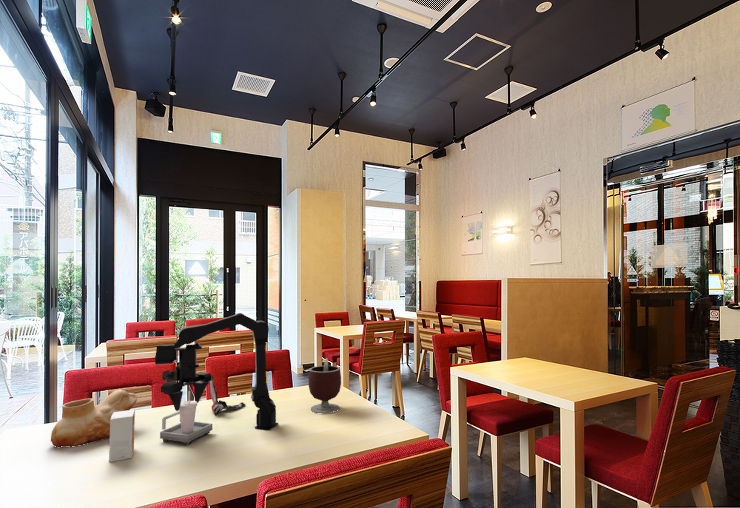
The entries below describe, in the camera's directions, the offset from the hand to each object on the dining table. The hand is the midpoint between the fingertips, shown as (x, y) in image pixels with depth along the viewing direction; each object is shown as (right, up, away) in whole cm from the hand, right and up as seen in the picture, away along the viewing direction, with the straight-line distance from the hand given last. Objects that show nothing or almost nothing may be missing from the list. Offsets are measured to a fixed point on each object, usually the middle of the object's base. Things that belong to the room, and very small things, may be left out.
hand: (187, 406), depth 145 cm
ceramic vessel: (-34, -12, +2) cm, 36 cm away
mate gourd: (+46, -12, +30) cm, 56 cm away
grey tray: (0, -11, -1) cm, 11 cm away
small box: (-14, -10, -15) cm, 23 cm away
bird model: (+4, -13, +30) cm, 33 cm away
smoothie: (0, -9, -1) cm, 9 cm away
